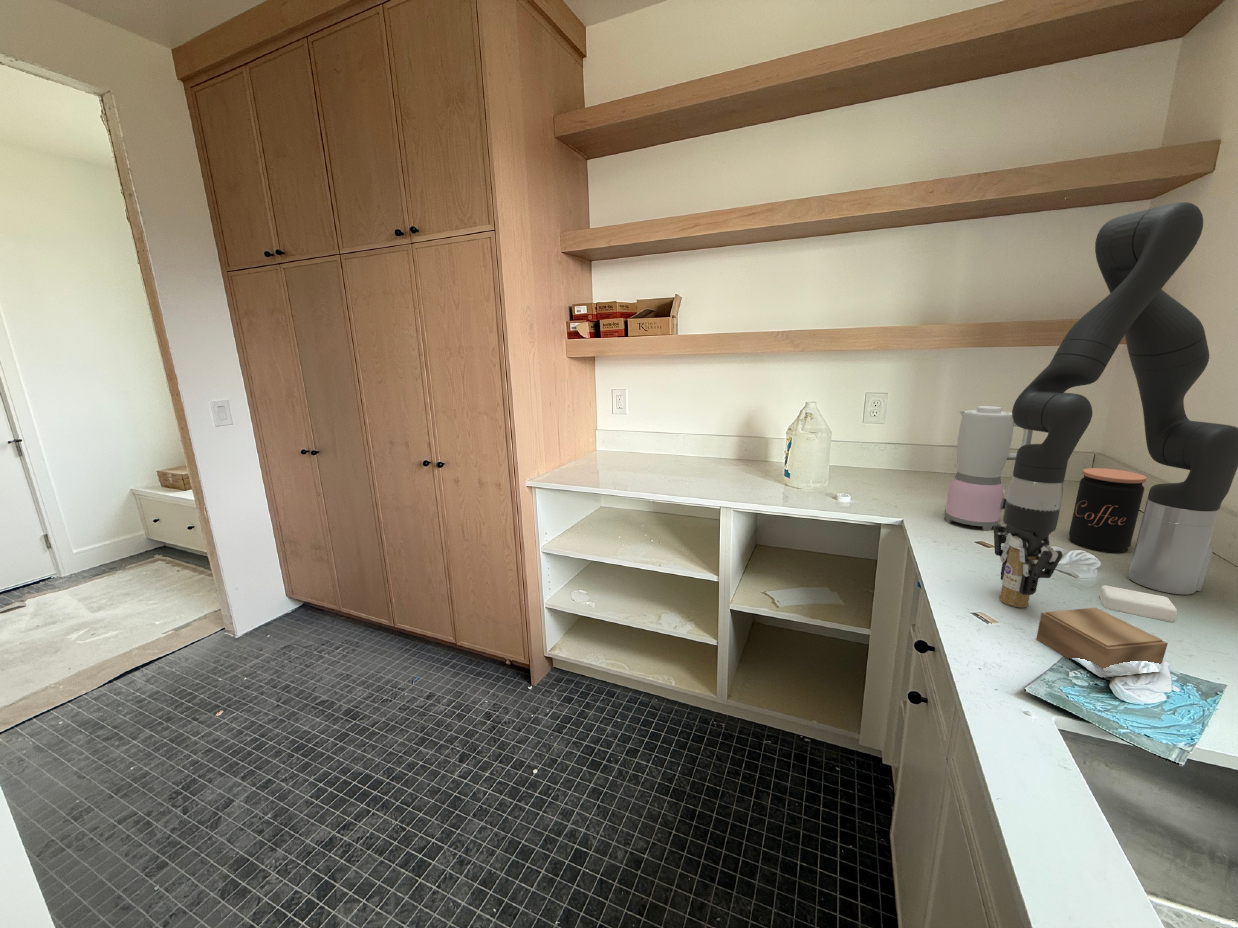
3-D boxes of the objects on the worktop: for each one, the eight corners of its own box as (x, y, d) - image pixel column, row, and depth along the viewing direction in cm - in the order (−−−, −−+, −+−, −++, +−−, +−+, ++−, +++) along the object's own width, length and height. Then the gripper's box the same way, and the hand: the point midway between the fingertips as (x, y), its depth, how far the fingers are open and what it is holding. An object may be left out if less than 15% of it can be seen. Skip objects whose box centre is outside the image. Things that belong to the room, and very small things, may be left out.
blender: (939, 523, 132) (956, 408, 124) (947, 511, 141) (963, 403, 133) (1012, 537, 122) (1035, 412, 114) (1016, 524, 130) (1038, 407, 123)
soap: (1165, 610, 88) (1169, 596, 88) (1175, 624, 84) (1179, 609, 83) (1097, 597, 94) (1101, 583, 93) (1104, 609, 89) (1107, 595, 89)
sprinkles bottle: (992, 597, 94) (1004, 533, 91) (1013, 595, 94) (1026, 532, 91) (1013, 609, 89) (1026, 543, 86) (1035, 607, 90) (1049, 541, 87)
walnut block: (1089, 633, 82) (1095, 606, 80) (1159, 672, 72) (1168, 641, 71) (1036, 638, 81) (1042, 610, 79) (1100, 678, 71) (1108, 647, 70)
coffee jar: (1058, 540, 119) (1072, 471, 115) (1081, 533, 123) (1096, 465, 119) (1114, 557, 110) (1133, 481, 105) (1138, 548, 114) (1156, 475, 109)
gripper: (1089, 515, 80) (1069, 607, 84) (1024, 490, 94) (1009, 570, 98) (1042, 515, 80) (1024, 606, 84) (984, 490, 94) (971, 570, 98)
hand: (1016, 586), depth 91 cm, fingers closed on sprinkles bottle, 4 cm apart
